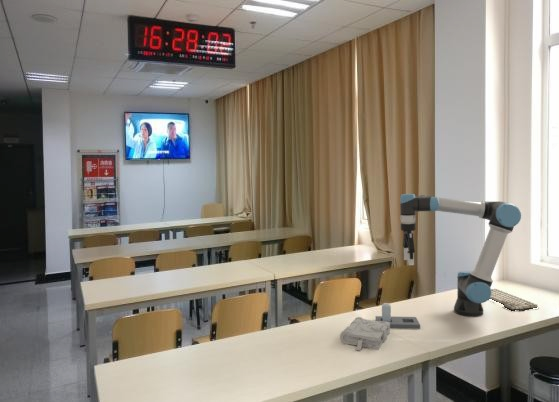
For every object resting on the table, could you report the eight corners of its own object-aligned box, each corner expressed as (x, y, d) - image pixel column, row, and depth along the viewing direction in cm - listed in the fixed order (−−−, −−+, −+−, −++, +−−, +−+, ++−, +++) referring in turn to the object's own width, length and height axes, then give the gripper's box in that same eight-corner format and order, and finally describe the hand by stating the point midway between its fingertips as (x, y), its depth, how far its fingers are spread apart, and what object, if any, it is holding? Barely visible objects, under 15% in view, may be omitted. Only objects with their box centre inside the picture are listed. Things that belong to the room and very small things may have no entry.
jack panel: (415, 321, 238) (415, 316, 237) (420, 329, 226) (420, 324, 226) (375, 320, 240) (375, 316, 240) (377, 328, 228) (377, 323, 228)
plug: (389, 322, 235) (389, 302, 235) (390, 325, 231) (390, 304, 231) (382, 322, 236) (381, 302, 235) (382, 325, 232) (382, 304, 231)
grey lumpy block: (336, 348, 206) (336, 331, 205) (354, 328, 231) (354, 313, 230) (377, 356, 197) (377, 339, 197) (392, 334, 222) (392, 319, 221)
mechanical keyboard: (470, 294, 287) (470, 289, 286) (497, 292, 290) (497, 287, 290) (513, 313, 250) (513, 307, 249) (542, 310, 254) (542, 304, 253)
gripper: (397, 220, 251) (398, 257, 253) (404, 226, 226) (405, 267, 228) (410, 220, 250) (411, 257, 252) (420, 225, 226) (421, 267, 227)
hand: (408, 262), depth 240 cm, fingers open, 13 cm apart
